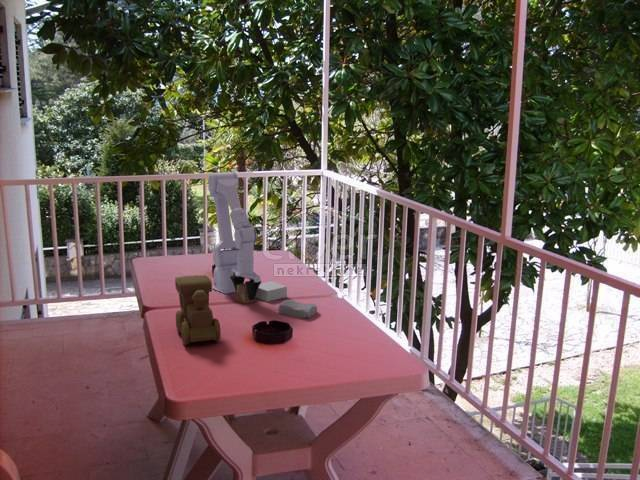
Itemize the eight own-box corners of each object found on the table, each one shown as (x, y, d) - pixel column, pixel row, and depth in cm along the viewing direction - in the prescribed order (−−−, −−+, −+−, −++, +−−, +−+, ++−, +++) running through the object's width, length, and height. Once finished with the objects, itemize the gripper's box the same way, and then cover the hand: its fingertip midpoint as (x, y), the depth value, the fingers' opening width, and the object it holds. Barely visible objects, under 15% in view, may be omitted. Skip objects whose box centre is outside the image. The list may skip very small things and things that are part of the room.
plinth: (252, 295, 243) (252, 285, 242) (271, 291, 249) (271, 281, 248) (267, 301, 237) (267, 291, 236) (286, 297, 243) (286, 286, 242)
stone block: (289, 311, 233) (275, 314, 224) (291, 298, 232) (277, 300, 223) (319, 318, 228) (306, 321, 219) (321, 304, 227) (308, 307, 218)
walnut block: (236, 301, 237) (236, 284, 236) (247, 298, 240) (246, 282, 239) (244, 304, 234) (244, 287, 233) (254, 301, 237) (254, 285, 236)
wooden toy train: (173, 327, 210) (172, 276, 206) (209, 323, 213) (208, 273, 210) (184, 350, 191) (182, 295, 188) (223, 345, 195) (222, 291, 192)
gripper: (224, 258, 236) (224, 294, 239) (248, 266, 226) (248, 304, 229) (240, 255, 241) (240, 291, 244) (264, 263, 231) (264, 300, 234)
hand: (245, 297), depth 237 cm, fingers open, 7 cm apart
